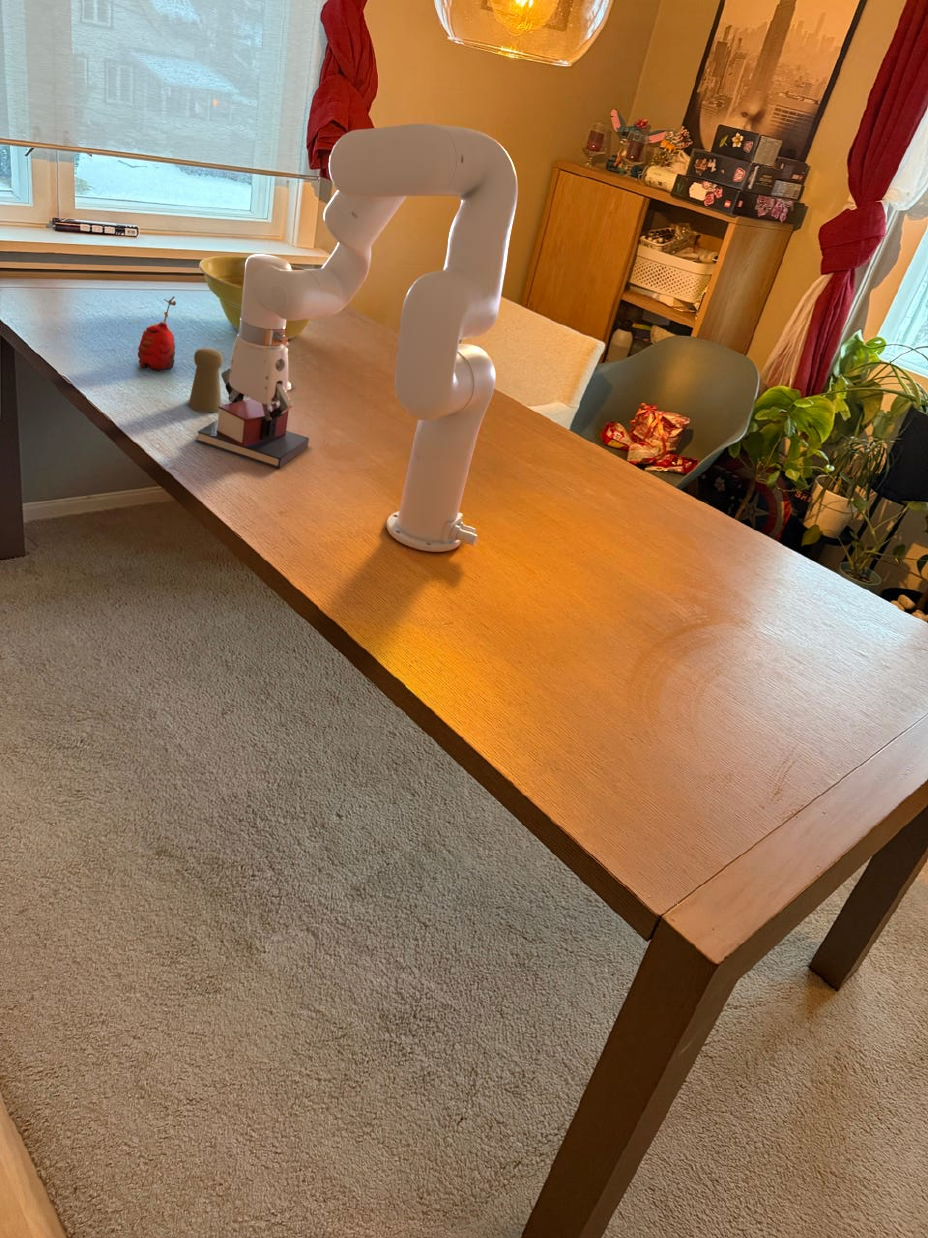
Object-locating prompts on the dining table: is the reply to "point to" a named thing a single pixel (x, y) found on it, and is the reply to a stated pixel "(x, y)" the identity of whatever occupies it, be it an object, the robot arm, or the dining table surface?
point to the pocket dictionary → (246, 422)
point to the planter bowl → (237, 288)
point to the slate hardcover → (257, 446)
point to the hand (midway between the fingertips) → (252, 429)
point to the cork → (206, 381)
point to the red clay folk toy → (157, 346)
